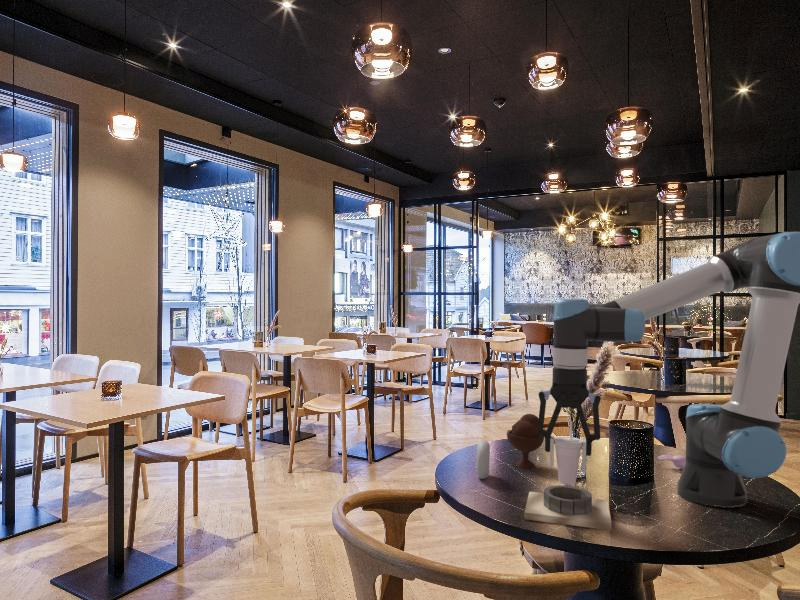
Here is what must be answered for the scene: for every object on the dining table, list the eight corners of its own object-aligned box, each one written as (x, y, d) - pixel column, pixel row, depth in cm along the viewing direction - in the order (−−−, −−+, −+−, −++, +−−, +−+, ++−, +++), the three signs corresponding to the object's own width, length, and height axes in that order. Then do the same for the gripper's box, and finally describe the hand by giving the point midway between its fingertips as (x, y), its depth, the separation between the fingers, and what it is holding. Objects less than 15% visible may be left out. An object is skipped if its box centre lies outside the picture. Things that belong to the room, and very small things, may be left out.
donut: (489, 484, 147) (489, 446, 147) (475, 483, 148) (476, 445, 148) (489, 472, 157) (490, 436, 157) (477, 471, 158) (477, 436, 158)
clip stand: (607, 506, 133) (607, 487, 133) (611, 530, 120) (611, 509, 119) (529, 497, 138) (529, 479, 138) (524, 519, 125) (524, 498, 125)
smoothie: (583, 488, 125) (584, 424, 125) (553, 485, 126) (554, 423, 126) (580, 478, 131) (581, 418, 131) (551, 476, 133) (553, 417, 132)
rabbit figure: (708, 473, 164) (653, 461, 167) (712, 453, 164) (657, 441, 166) (715, 480, 158) (659, 467, 161) (720, 459, 158) (663, 447, 160)
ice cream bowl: (515, 458, 171) (515, 408, 171) (550, 465, 165) (551, 413, 165) (499, 466, 163) (500, 414, 163) (536, 474, 156) (537, 420, 156)
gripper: (614, 367, 129) (611, 467, 130) (527, 362, 135) (525, 458, 135) (616, 371, 122) (613, 477, 122) (525, 366, 128) (522, 467, 128)
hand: (567, 467), depth 129 cm, fingers closed on smoothie, 6 cm apart
